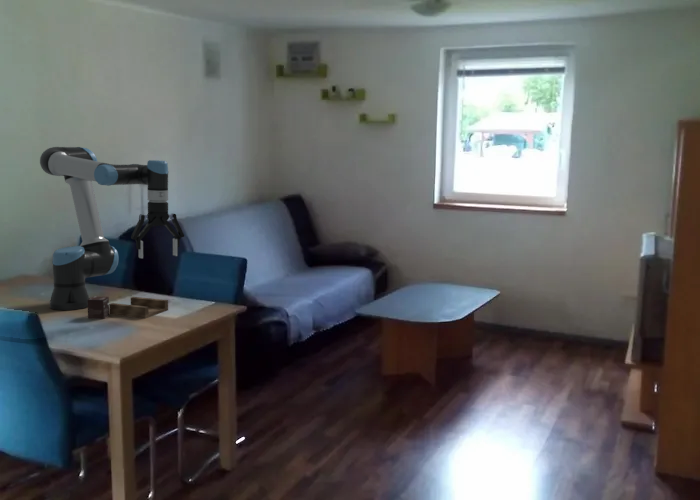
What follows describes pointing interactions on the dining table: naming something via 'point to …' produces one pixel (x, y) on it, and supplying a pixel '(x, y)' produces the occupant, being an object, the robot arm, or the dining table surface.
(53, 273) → the robot arm
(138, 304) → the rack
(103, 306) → the box
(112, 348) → the dining table surface
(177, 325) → the dining table surface
